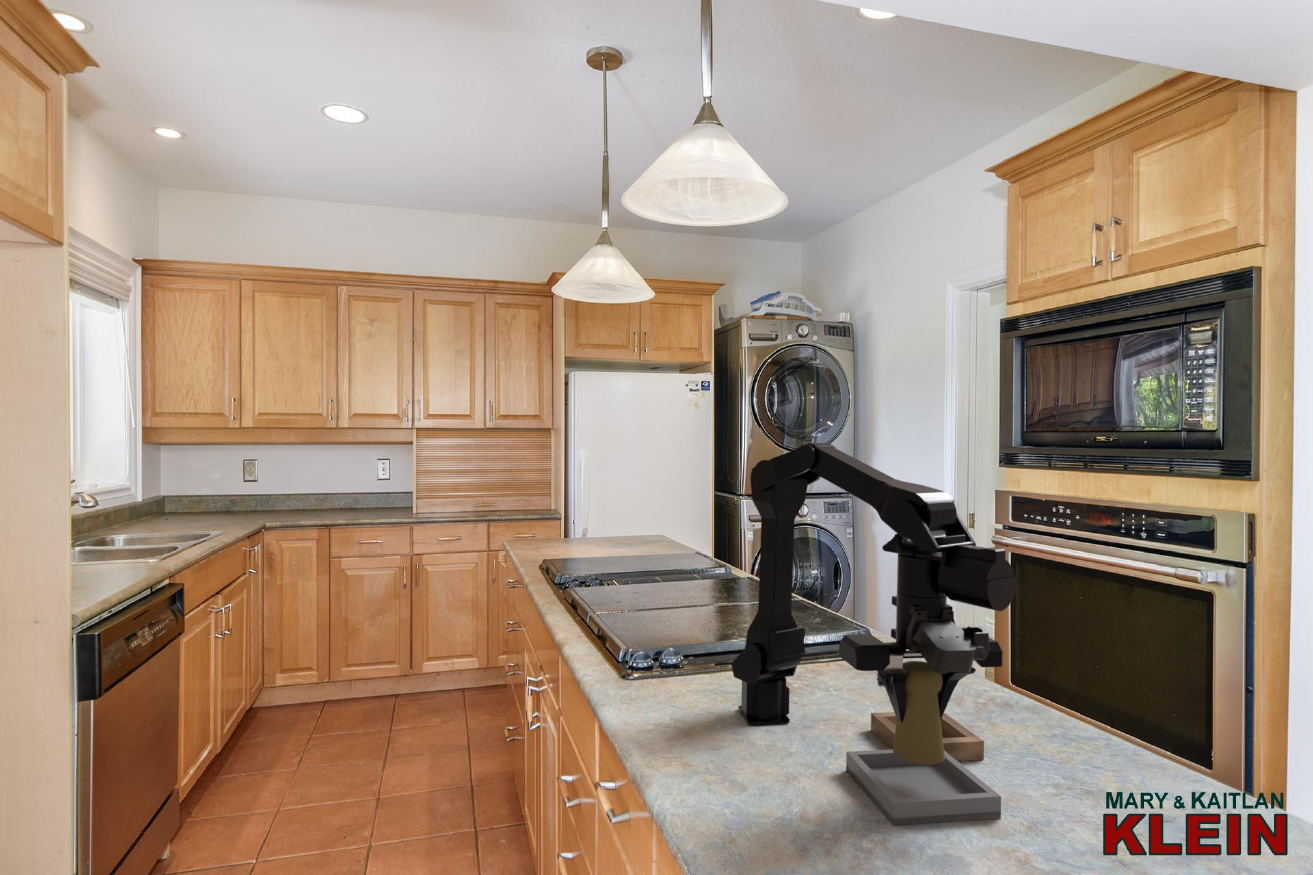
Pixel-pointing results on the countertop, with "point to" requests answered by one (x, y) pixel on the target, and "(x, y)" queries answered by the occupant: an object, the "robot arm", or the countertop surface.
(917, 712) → the cork
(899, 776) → the tray
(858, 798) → the countertop surface
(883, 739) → the pin holder
